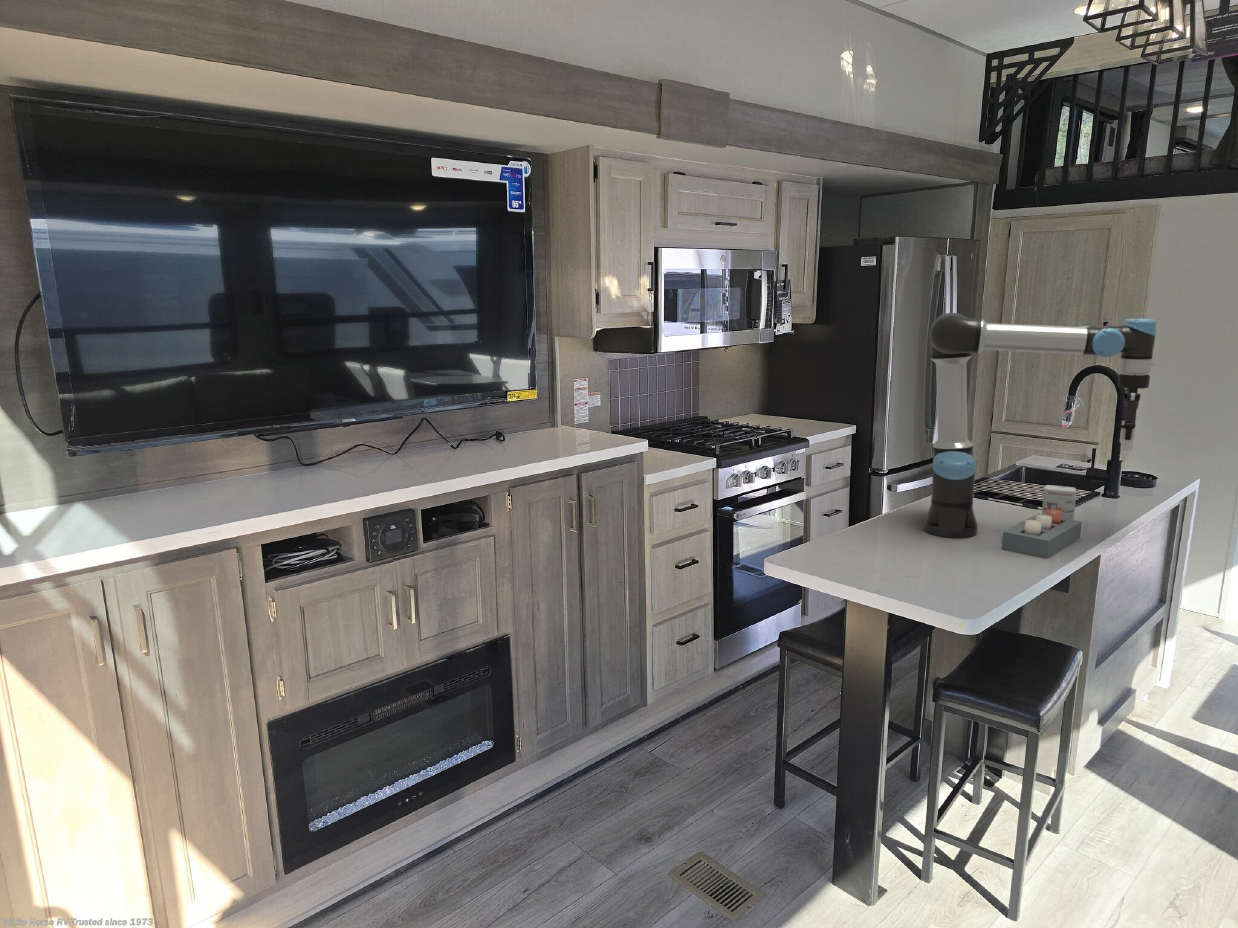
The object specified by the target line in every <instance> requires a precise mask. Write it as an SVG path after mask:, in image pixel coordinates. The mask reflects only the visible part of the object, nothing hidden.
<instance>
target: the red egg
mask: <svg viewBox="0 0 1238 928" xmlns="http://www.w3.org/2000/svg"><path fill="white" fill-rule="evenodd" d="M1046 515H1049V516H1051V517H1052V522H1051V523H1053V524H1061V516H1062V511H1060V510H1054V509H1048V510H1046Z"/></svg>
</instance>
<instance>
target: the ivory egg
mask: <svg viewBox="0 0 1238 928" xmlns="http://www.w3.org/2000/svg"><path fill="white" fill-rule="evenodd" d="M1025 520H1026V521H1025ZM1025 520H1024V521H1025V531H1024V533H1026V534H1031V535H1036V536H1039V535H1040V534H1041V523H1042V522H1040V521H1037V520H1027V519H1025Z"/></svg>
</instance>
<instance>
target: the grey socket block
mask: <svg viewBox="0 0 1238 928" xmlns="http://www.w3.org/2000/svg"><path fill="white" fill-rule="evenodd" d="M1040 514H1041V513H1036V514H1035V515H1033V516H1031V517H1028V518H1027V519H1024V520H1023V521H1022V522H1019V523H1017V524H1015V525H1013V526H1012V527H1009V528H1007V529H1005V530H1003V531H1002V536H1001V537H1002V539H1001V550H1007V551H1011V552H1015V553H1020V554H1025V555H1029V556H1034V557H1039V558H1043V559H1048V558H1050V557H1051V556H1053V555H1055V554H1056V553H1058V552H1060V551H1061V550H1064V549H1065V548H1066V547H1068V546H1069V545H1071V544H1072V543H1074V542H1077V541H1078V540H1079V539H1081V532H1082V523H1083V521H1081V520H1075V519H1073V520H1070V519H1065V518H1061V524H1053V523H1051V529H1050V530H1045V529H1041V534H1040V535H1039V536H1036V535H1031V534H1026V533H1024V531H1025V521H1026V520H1036V515H1040Z"/></svg>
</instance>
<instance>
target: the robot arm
mask: <svg viewBox="0 0 1238 928" xmlns="http://www.w3.org/2000/svg"><path fill="white" fill-rule="evenodd" d="M929 329H930V330H929V340H930V344H929V345H930V360H932V361H933V363H935V367H936V369H935V370H936V373H935V374H936V376H935V377H936V379H935V380H936V413H937V414H936V415H937V418H936V419H937V424H936V425H937V426H936V427H937V440H936V441H935V442H934V443H933V445H932V481H931V495H930V496H931V498H930V499H931V501H930V505H929V508H928V511H927V513H926V515H925V517H924V520H923V527H922V528H923V530H924V531H925V532H927V533H929V534H930V535H935V536H937V537H939V536H940V537H944V538H955V539H956V538H959V539H961V538H971V537H974V536H976V535H977V534H978V529H979V526H978V522H977V519H976V515H975V512H974V508H973V507H974V505H973V504H974V495H975V494H974V492H975V478H976V471H977V464H976V463H977V462H976V459H975V457H974V444H973V443H972V442H971V441H970V440H969V438H968V389H967V387H968V385H967V384H968V383H967V381H968V380H967V377H968V375H967V373H968V372H967V370H968V369H967V362H968V361H969V360H970V359H971V358H972V356H973V354H979V353H981V352H982V351H1003V352H1019V353H1020V352H1021V353H1025V352H1026V353H1042V354H1043V353H1044V354H1045V353H1046V354H1063V355H1065V354H1066V355H1083V356H1097V357H1098V356H1099V357H1103V358H1110V357H1114V356H1116V355H1118V354H1121V355H1120V361H1119V367H1118V368H1119V369H1118V371H1119V374H1118V378H1117V380H1118V381H1117V386H1118V387H1119V388H1123V389H1125V391H1126V392H1124V393H1123V396H1122V399H1123V403H1122V404H1123V413H1122V415H1121V416H1122V418H1121V419H1122V420H1121V425H1120V435H1119V443H1120V450H1119V451H1122V452H1132V451H1133V444H1134V437H1135V436H1134V435H1135V430H1136V429H1135V428H1136V420H1137V411H1138V408H1139V403H1140V400H1141V394H1140V393H1139V391H1138V390H1139V389H1147V388H1148V389H1149V386H1150V379H1151V376H1150V373H1151V369H1152V366H1154V365H1155V362H1153V361H1152V360H1153V353H1154V348H1155V347H1154V346H1155V341H1156V336H1157V333H1156V330H1157V322H1156V320H1155V319H1153V318H1127V319H1125V321H1124V324H1123V325H1118V326H1117V325H1079V326H1069V325H1067V326H1066V325H1063V326H1062V325H1041V324H1039V325H1038V324H1018V323H1016V324H1013V323H993V322H991V323H990V322H986V320H985V319H982V318H981V319H980V318H970V317H967V316H965V315H964V314H961V313H959V312H958V313H957V312H948V313H943V314H941V315H940V316H938V317H936V318H935V320H934V321H932V324H931V327H930V328H929Z"/></svg>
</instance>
